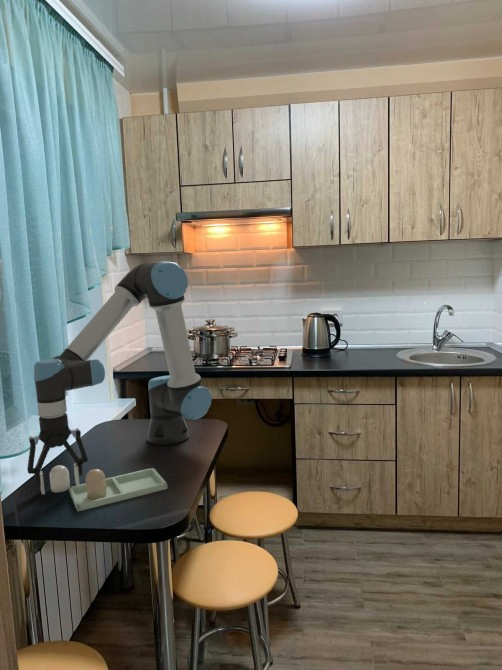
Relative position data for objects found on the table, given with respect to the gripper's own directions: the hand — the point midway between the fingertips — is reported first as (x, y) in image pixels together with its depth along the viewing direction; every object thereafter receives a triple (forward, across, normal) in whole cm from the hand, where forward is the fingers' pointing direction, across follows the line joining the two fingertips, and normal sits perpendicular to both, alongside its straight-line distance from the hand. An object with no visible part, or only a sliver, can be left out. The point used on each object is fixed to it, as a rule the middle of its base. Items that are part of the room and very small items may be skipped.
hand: (60, 490), depth 148 cm
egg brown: (-1, -8, +11) cm, 14 cm away
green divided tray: (0, -14, +11) cm, 18 cm away
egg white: (0, 0, 0) cm, 0 cm away
